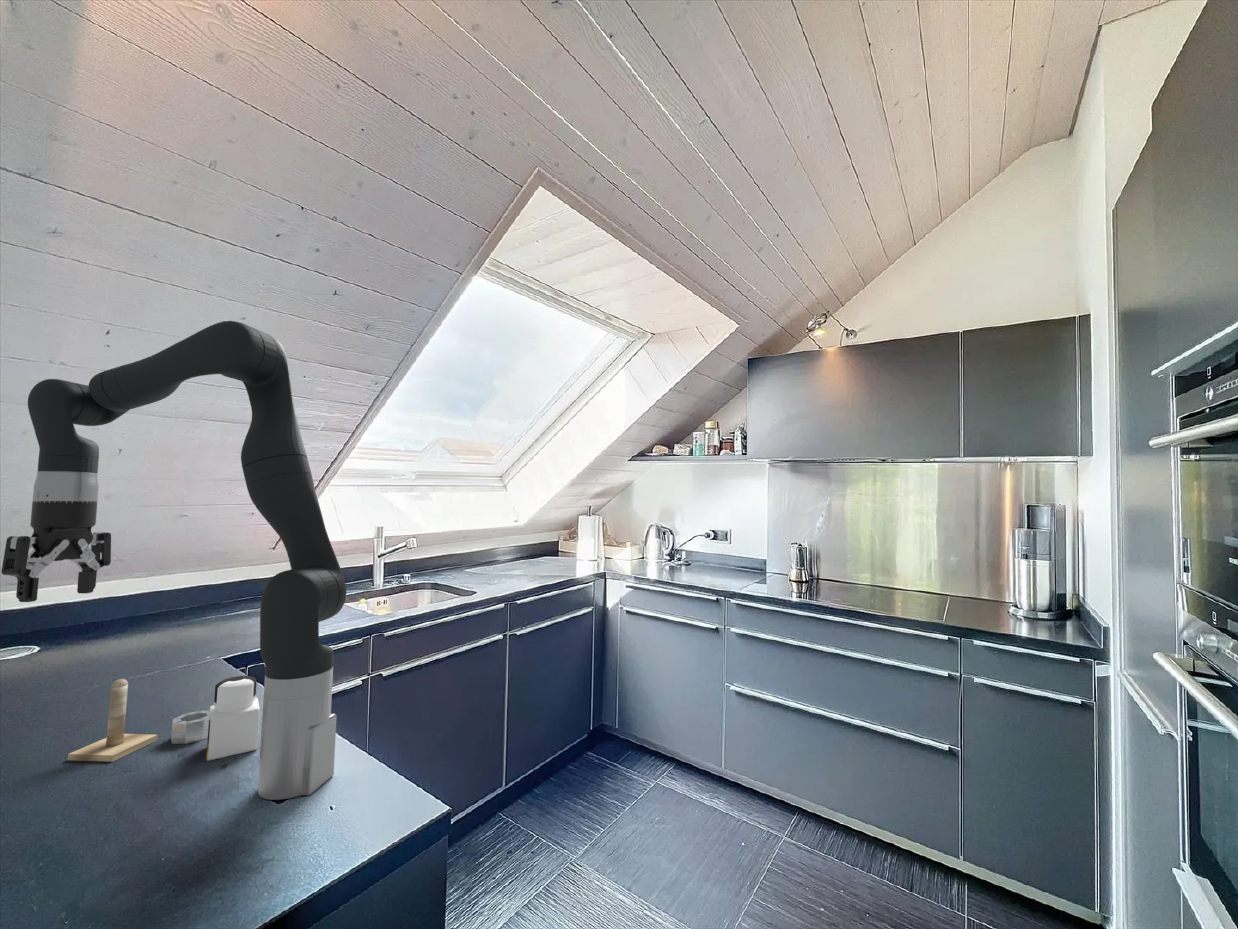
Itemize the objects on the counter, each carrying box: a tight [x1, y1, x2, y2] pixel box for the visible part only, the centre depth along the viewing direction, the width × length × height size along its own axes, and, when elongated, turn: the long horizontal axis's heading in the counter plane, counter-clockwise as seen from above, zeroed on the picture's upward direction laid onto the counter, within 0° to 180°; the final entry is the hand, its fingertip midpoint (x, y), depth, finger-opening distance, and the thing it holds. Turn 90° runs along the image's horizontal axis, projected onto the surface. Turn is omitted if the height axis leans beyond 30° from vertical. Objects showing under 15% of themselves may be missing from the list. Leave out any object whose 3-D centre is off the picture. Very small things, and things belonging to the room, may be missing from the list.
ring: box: [171, 710, 210, 745], centre depth 97 cm, size 6×6×4 cm
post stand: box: [67, 678, 158, 762], centre depth 92 cm, size 8×8×12 cm
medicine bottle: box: [206, 675, 261, 761], centre depth 93 cm, size 7×7×12 cm
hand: (57, 597), depth 86 cm, fingers open, 8 cm apart
